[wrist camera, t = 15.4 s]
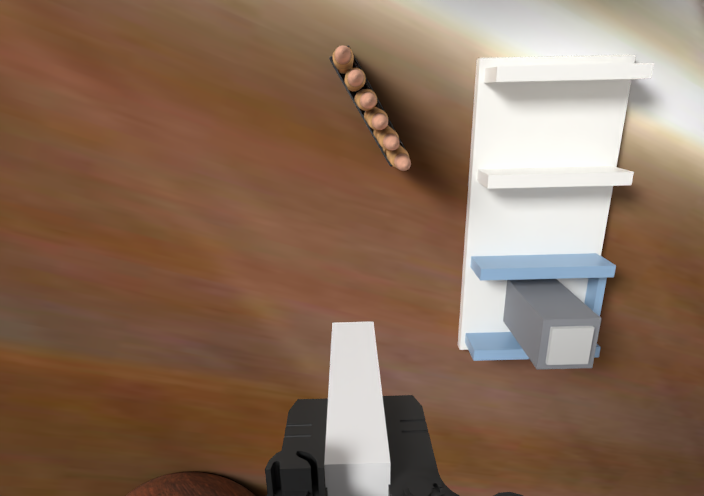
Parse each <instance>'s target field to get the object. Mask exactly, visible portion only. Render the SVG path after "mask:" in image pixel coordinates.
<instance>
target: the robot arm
mask: <svg viewBox="0 0 704 496" xmlns="http://www.w3.org/2000/svg"><path fill="white" fill-rule="evenodd" d="M286 425H287V426H286V430H285V437H284V441H283V446H282V451H280V452H278V453H276V454H275V455H274V456H273V457H272V458H271V459H270V460H269V462H268V464H267V466H266V468H265V474H266V483H267V492H268V494H267V495H266V496H459V495H457V494H456V493H454V492H452V491H451V490H450V489H449V488H448V487H447V486H446V485H445V484H444V483H443V481H442V480H441V478H440V475H439V473H438V469H437V465H436V461H435V457H434V453H433V449H432V445H431V441H430V437H429V433H428V429H427V424H426V422H425V416H424V412H423V408H422V406H421V405H420V403H419V402H418V401H417V400H416V399H415V398H414V396H413V395H405V396H382V389H381V381H380V372H379V364H378V356H377V348H376V339H375V331H374V323H373V322H341V323H332V340H331V357H330V374H329V392H328V399H298V400H297V401H296V402H295V404H294V405H293V406H292V408H291V409H290V410H289V413H288V419H287V424H286ZM494 496H523V495H520V494H516V493H512V492H504V493H498V494H496V495H494Z"/></svg>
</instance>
